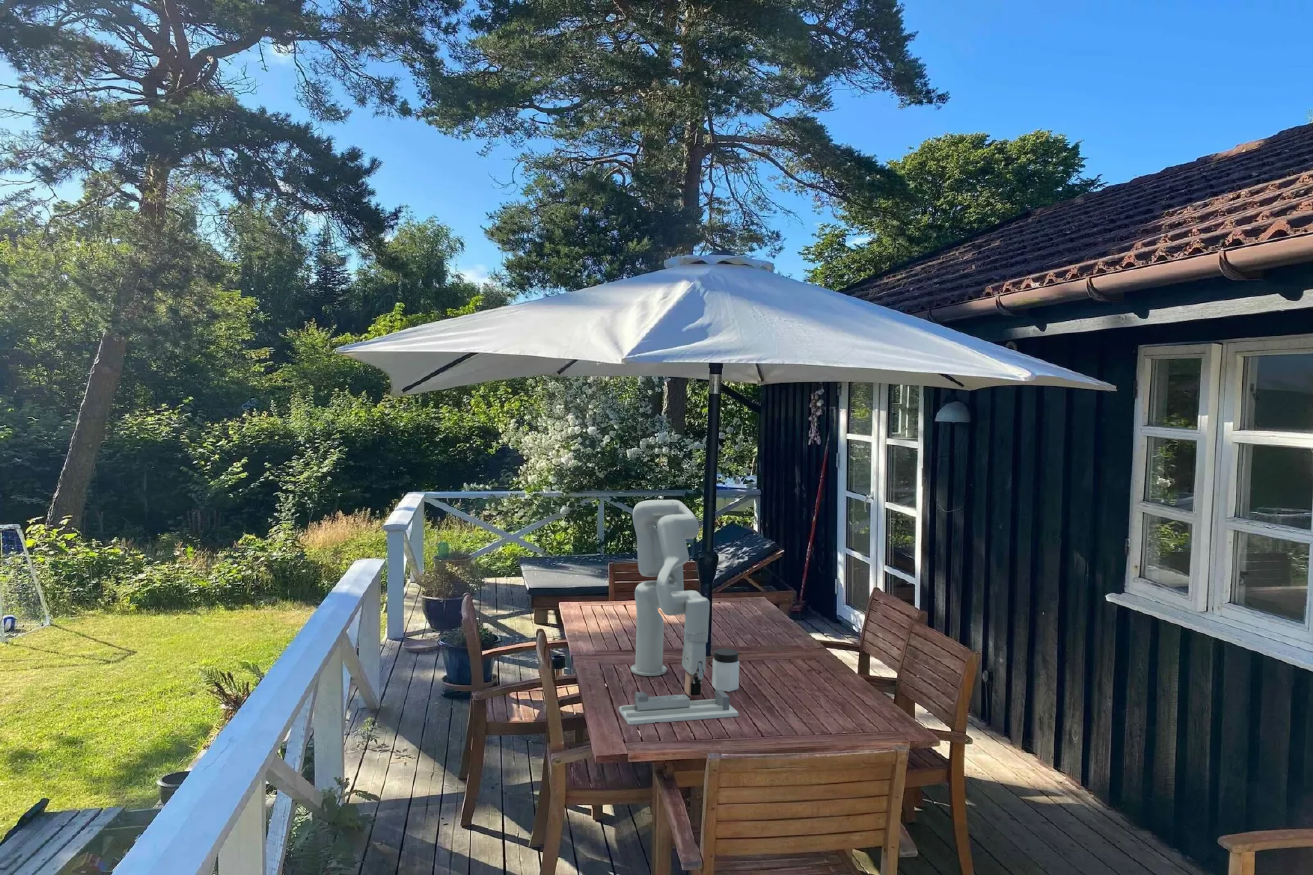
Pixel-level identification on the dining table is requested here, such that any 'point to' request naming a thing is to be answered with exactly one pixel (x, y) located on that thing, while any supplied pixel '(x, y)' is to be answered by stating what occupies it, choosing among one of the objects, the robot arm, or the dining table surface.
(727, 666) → the jar
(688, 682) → the block
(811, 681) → the dining table surface
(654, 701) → the grey sliding carriage block
